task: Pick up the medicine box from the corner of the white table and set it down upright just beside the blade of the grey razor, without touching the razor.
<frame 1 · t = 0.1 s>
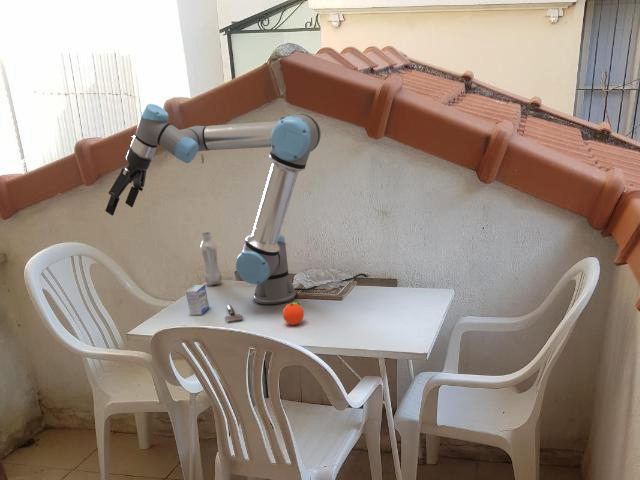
hand: (119, 209, 237), 36 cm above the table, tool tilted 35°, fingers open, 13 cm apart
clementine: (295, 324, 228), on the table
medicine box: (199, 312, 248), on the table
plastic bottle: (214, 284, 277), on the table
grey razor: (232, 315, 241), on the table
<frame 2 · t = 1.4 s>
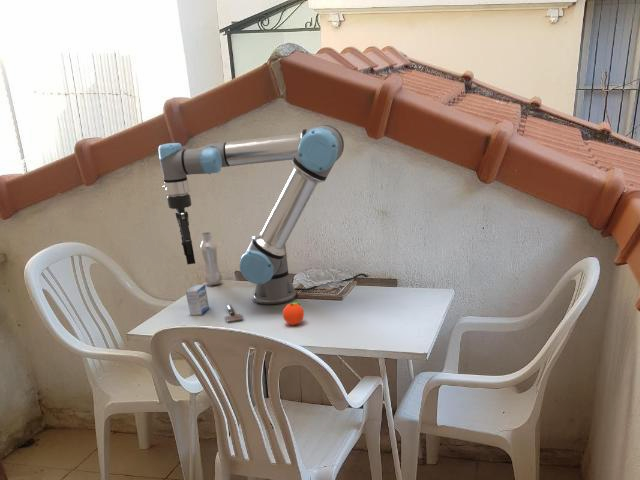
hand: (189, 259, 238), 19 cm above the table, tool pointing down, fingers open, 13 cm apart
nothing on the table moved.
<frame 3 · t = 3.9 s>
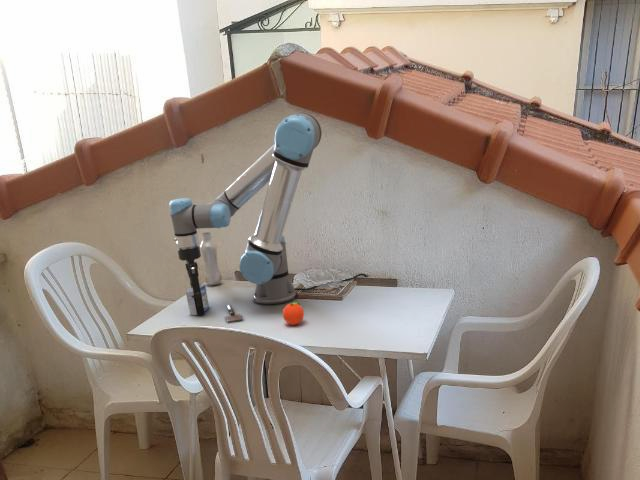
hand: (199, 310, 247), 0 cm above the table, tool pointing down, fingers closed on medicine box, 9 cm apart
medicine box: (200, 312, 248), on the table, touching gripper
everything else where it was.
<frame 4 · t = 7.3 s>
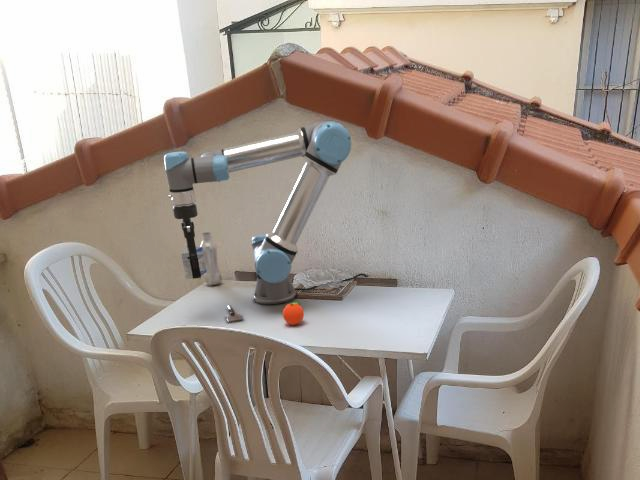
hand: (196, 274, 233), 15 cm above the table, tool pointing down, fingers closed on medicine box, 9 cm apart
medicine box: (196, 276, 233), point 15 cm above the table, touching gripper
everything else where it was.
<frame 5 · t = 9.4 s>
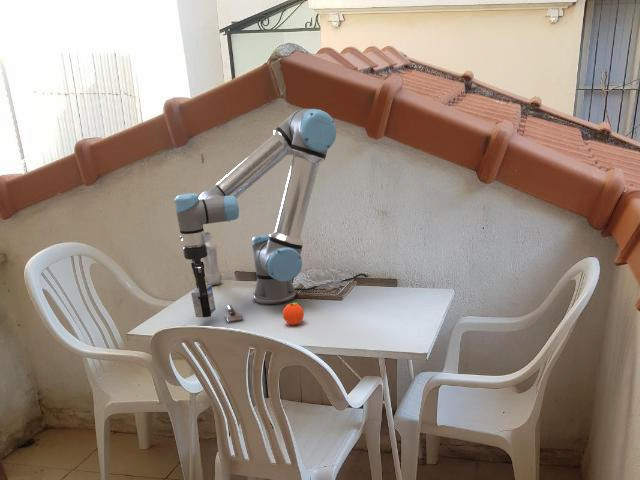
hand: (205, 312, 234), 4 cm above the table, tool pointing down, fingers closed on medicine box, 9 cm apart
medicine box: (205, 314, 234), point 3 cm above the table, touching gripper
everything else where it was.
when the fingers open (0 cm above the table, at t = 10.9 s): medicine box stays where it is, on the table.
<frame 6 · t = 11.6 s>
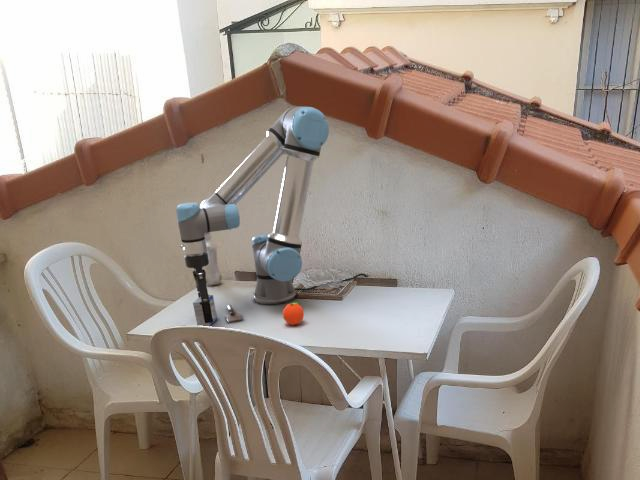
hand: (207, 316, 235), 2 cm above the table, tool pointing down, fingers open, 13 cm apart
medicine box: (207, 323, 236), on the table
everything else where it was.
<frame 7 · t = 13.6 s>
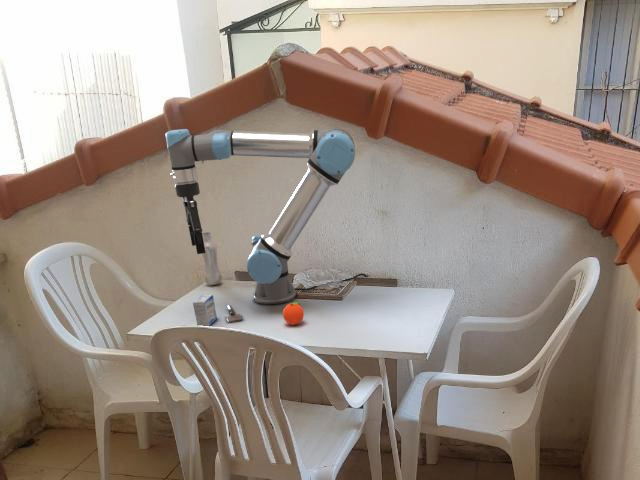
hand: (198, 249, 233), 23 cm above the table, tool pointing down, fingers open, 13 cm apart
nothing on the table moved.
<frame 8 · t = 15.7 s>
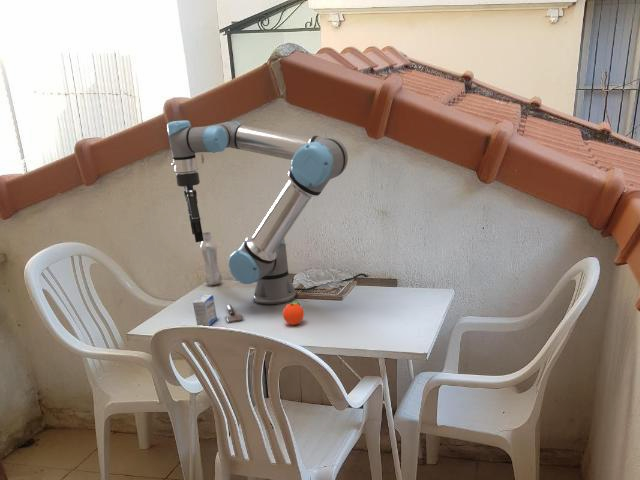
hand: (197, 237, 239), 25 cm above the table, tool pointing down, fingers open, 13 cm apart
nothing on the table moved.
at the end: medicine box 0.7 cm from the target spot on the table beside the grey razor, on the table; medicine box tilted 0°; medicine box touching table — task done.
